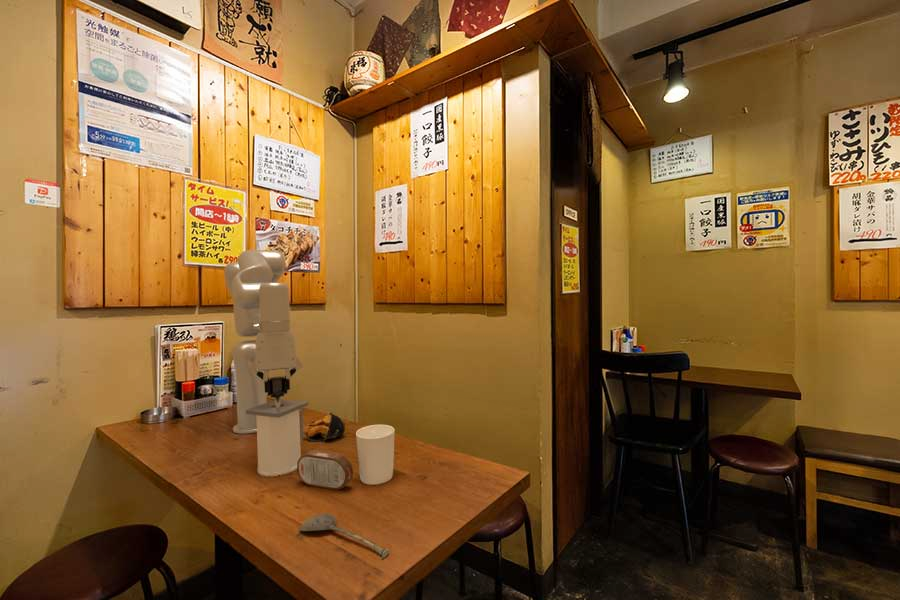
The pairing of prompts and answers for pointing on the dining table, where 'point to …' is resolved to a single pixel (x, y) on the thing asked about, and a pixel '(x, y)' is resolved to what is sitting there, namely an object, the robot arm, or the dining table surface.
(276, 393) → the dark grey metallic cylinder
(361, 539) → the soupspoon
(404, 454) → the dining table surface
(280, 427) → the white grey-topped cylinder
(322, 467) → the tin
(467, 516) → the dining table surface
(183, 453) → the dining table surface
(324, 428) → the fried shrimp in bowl
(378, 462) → the white tapered cylinder
